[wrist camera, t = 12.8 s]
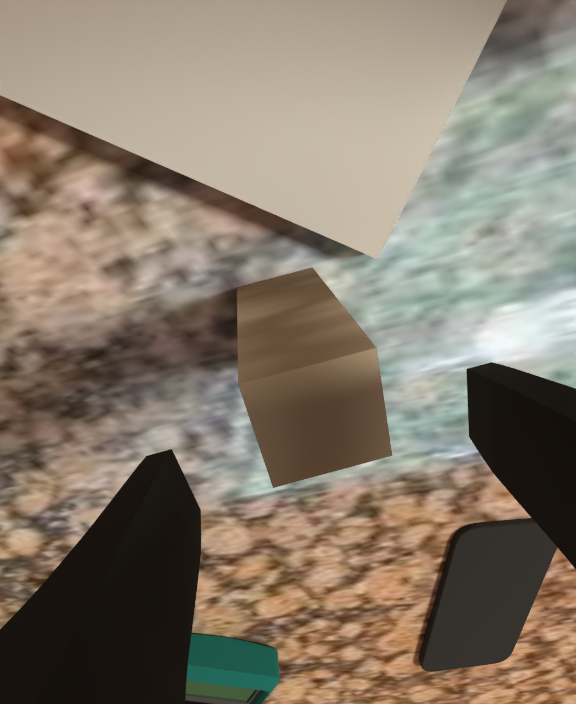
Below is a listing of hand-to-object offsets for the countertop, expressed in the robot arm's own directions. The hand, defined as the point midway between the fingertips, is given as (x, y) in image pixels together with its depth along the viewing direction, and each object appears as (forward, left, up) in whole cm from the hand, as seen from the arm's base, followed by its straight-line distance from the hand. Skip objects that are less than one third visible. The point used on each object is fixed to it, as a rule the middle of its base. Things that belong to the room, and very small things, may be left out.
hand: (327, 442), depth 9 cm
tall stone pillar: (0, 0, -8) cm, 8 cm away
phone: (-21, +14, -9) cm, 27 cm away
